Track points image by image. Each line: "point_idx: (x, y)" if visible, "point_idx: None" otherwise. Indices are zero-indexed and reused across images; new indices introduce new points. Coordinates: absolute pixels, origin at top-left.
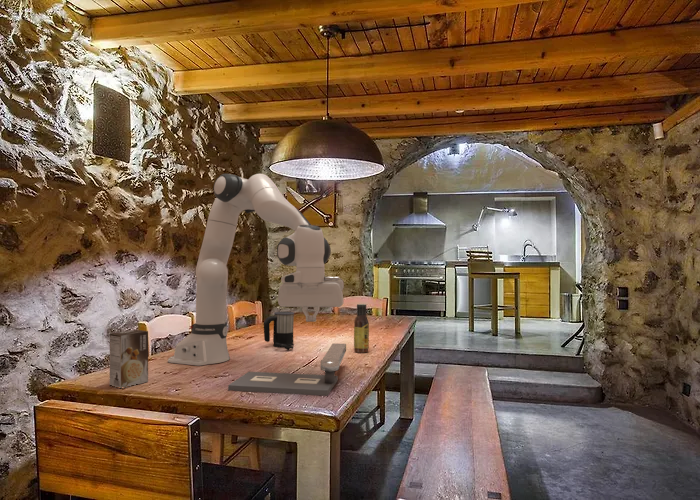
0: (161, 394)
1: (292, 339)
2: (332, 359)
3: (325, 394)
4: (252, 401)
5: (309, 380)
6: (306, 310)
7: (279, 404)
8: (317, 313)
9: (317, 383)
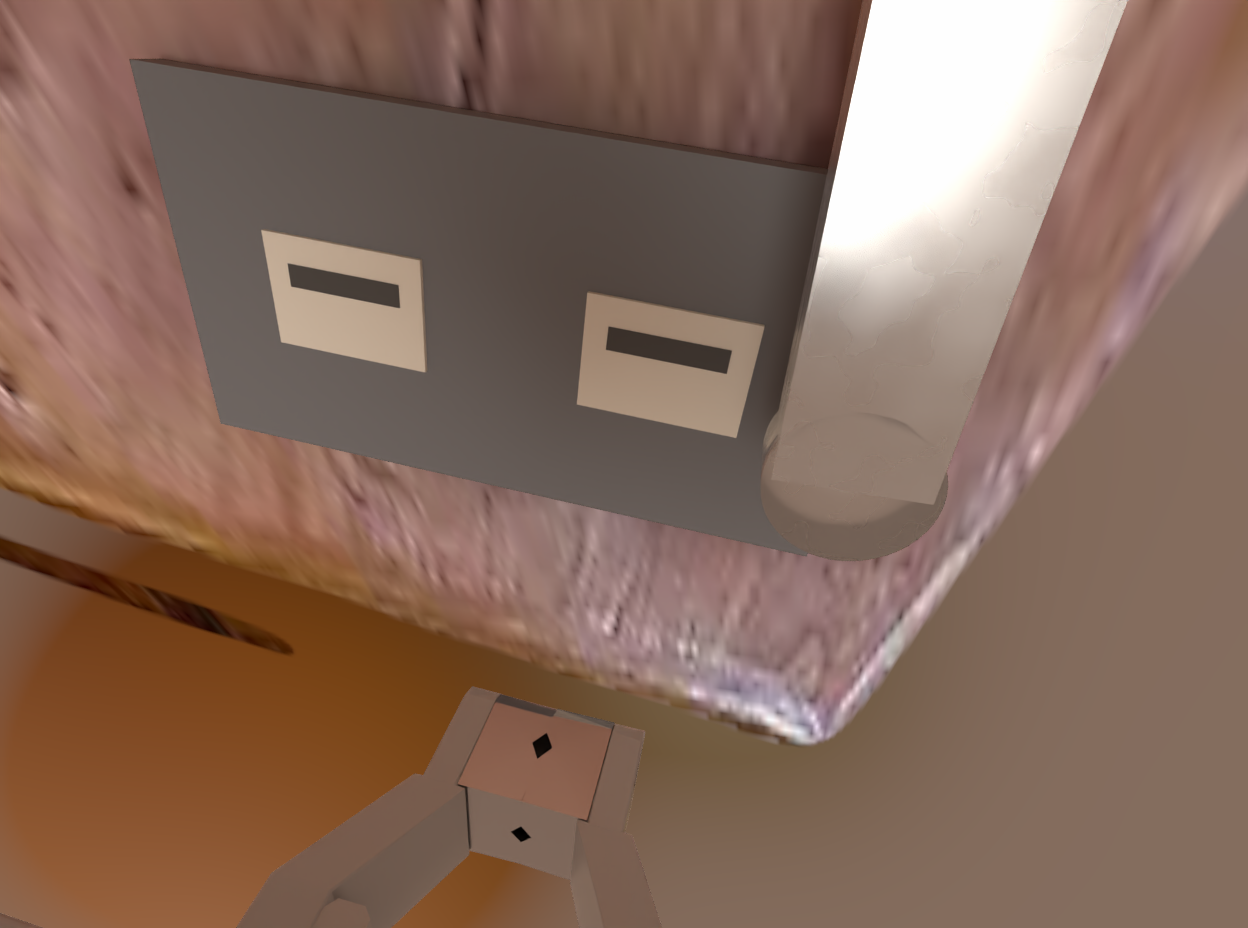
0: (9, 448)
1: None
2: (885, 444)
3: None
4: (437, 570)
5: (680, 363)
6: (352, 880)
7: (568, 616)
8: (646, 884)
9: (742, 420)
